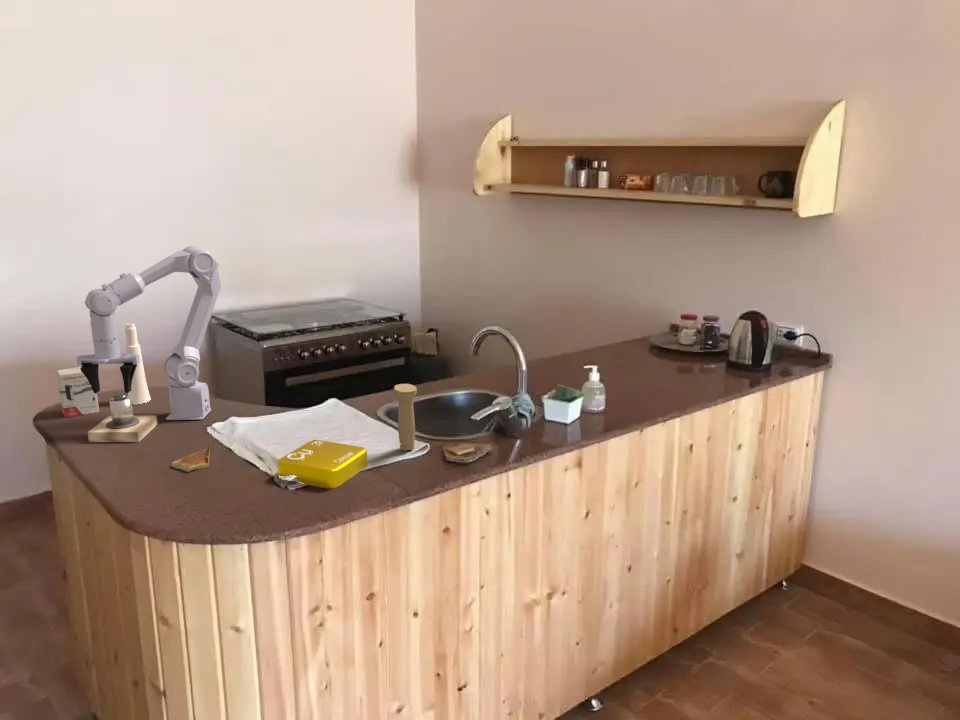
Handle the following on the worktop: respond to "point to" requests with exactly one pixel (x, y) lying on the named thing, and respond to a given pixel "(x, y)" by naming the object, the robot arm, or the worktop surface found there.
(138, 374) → the cosmetic bottle
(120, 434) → the stand
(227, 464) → the worktop surface
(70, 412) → the ink box
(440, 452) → the worktop surface
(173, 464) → the shard
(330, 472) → the element tile
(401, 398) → the handle
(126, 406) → the cylinder
